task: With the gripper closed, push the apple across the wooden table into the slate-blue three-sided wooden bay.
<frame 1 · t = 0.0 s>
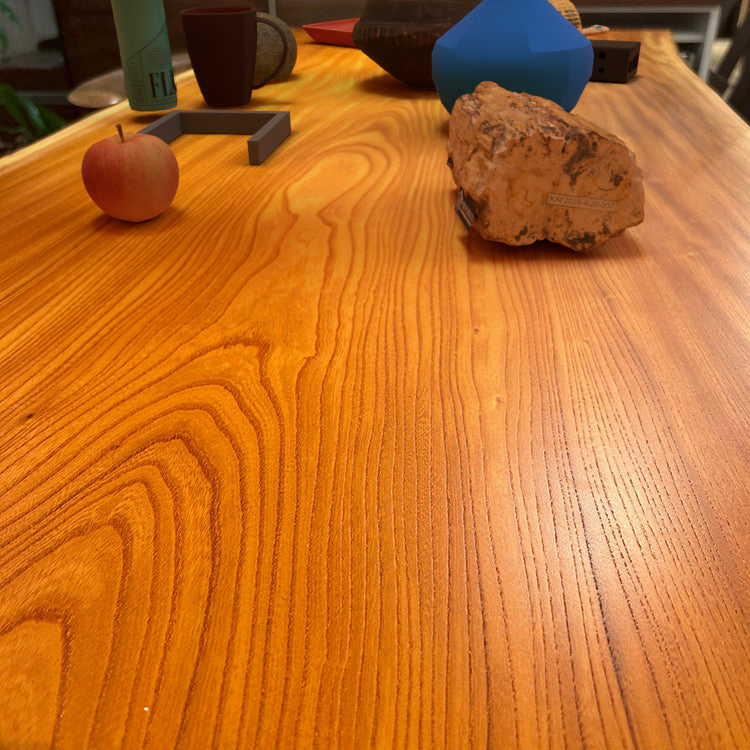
petrified wood: (525, 219, 66), on the table
apple: (140, 219, 68), on the table
electronic device: (596, 78, 121), on the table
beverage bottle: (156, 120, 101), on the table
mug: (242, 105, 109), on the table
vase: (506, 131, 93), on the table
bay: (215, 146, 88), on the table
grey green rounded stone: (252, 78, 126), on the table
ceramic pot: (432, 85, 119), on the table
decorative figurine: (547, 53, 144), on the table
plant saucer: (362, 42, 161), on the table
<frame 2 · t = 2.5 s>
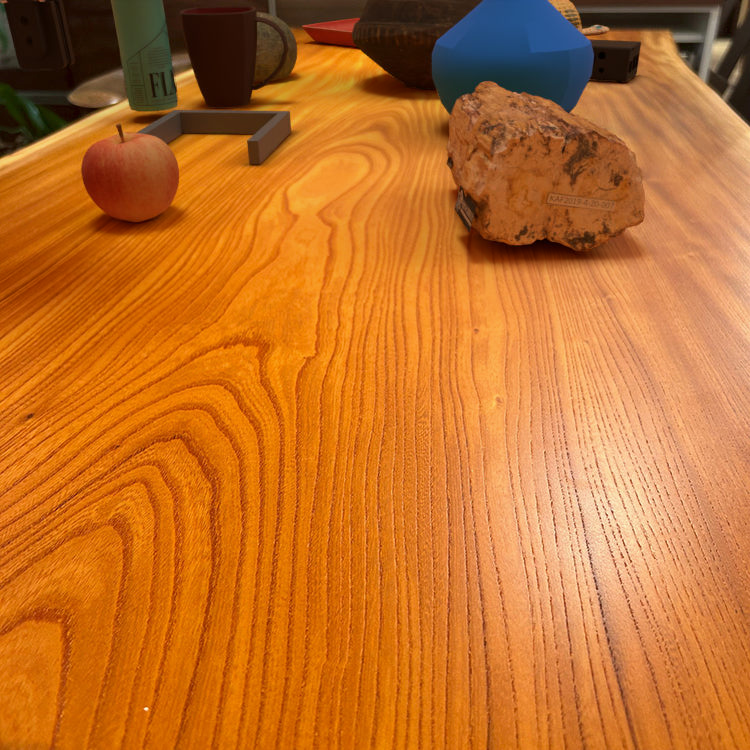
hand: (47, 66, 52), 14 cm above the table, tool pointing down, fingers closed
nothing on the table moved.
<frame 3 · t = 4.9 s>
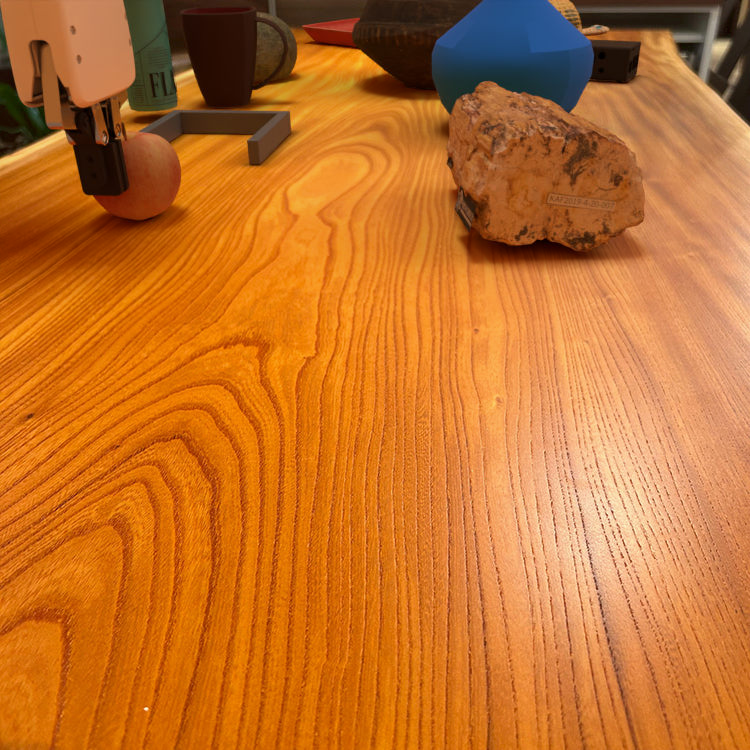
hand: (107, 192, 61), 4 cm above the table, tool pointing down, fingers closed
apple: (141, 217, 68), on the table, touching gripper
everything else where it was.
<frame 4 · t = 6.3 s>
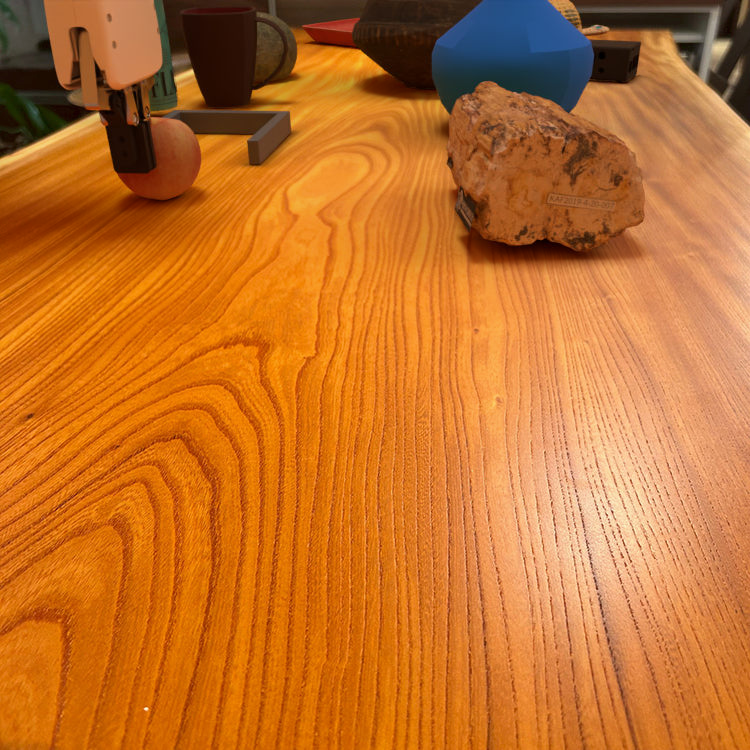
hand: (136, 170, 66), 4 cm above the table, tool pointing down, fingers closed
apple: (163, 198, 72), on the table, touching gripper
everything else where it was.
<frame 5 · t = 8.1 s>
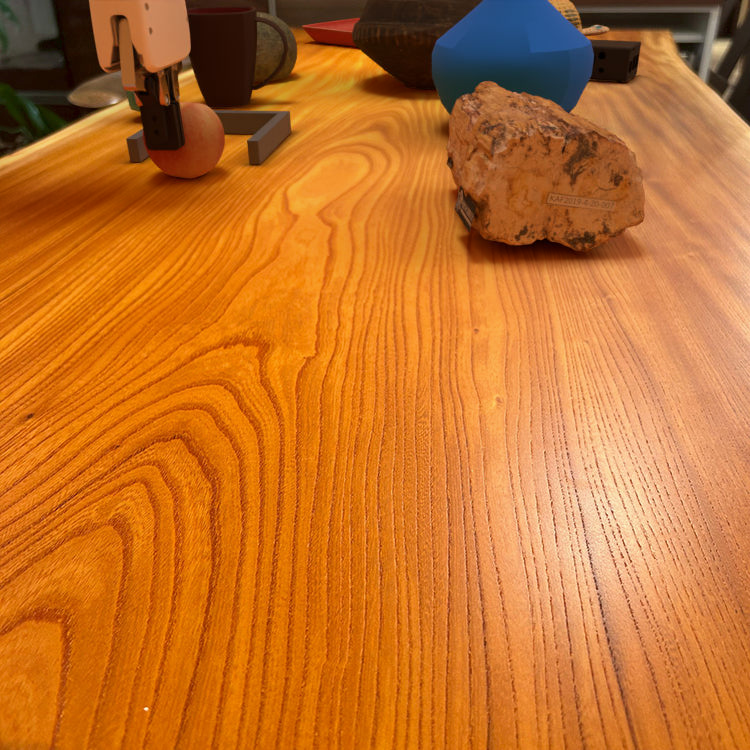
hand: (166, 147, 72), 4 cm above the table, tool pointing down, fingers closed
apple: (190, 176, 78), on the table, touching gripper
everything else where it was.
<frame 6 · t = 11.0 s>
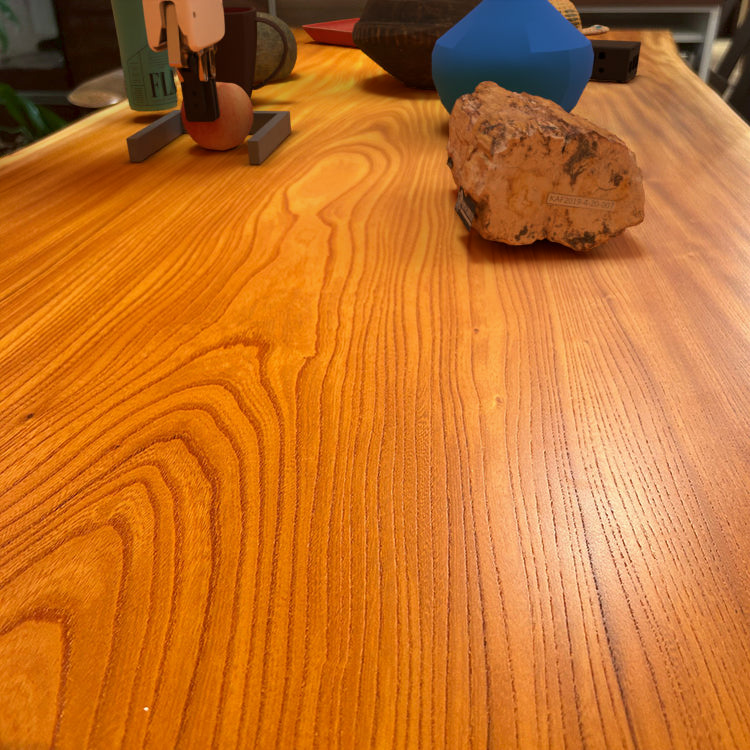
hand: (203, 119, 81), 4 cm above the table, tool pointing down, fingers closed
apple: (222, 149, 88), on the table, touching gripper
everything else where it was.
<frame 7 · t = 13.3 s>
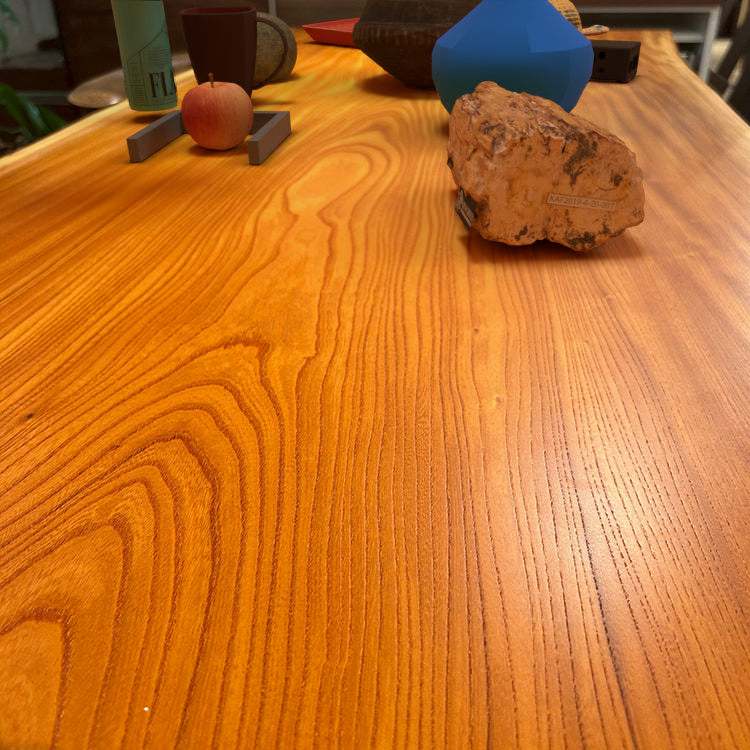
apple: (222, 149, 88), on the table
everything else where it was.
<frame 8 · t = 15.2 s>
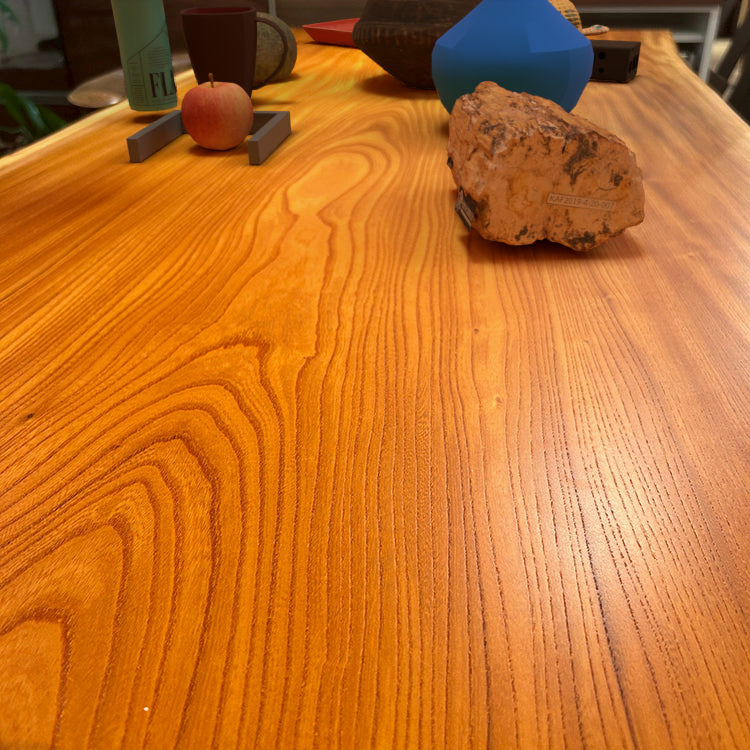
nothing on the table moved.
at the end: apple inside the target area on the bay (0.9 cm from its centre), point 0.0 cm above the bay's base; apple moved 23.7 cm from its start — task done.
